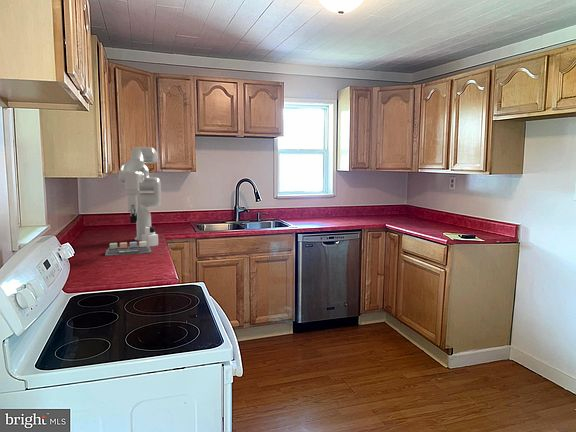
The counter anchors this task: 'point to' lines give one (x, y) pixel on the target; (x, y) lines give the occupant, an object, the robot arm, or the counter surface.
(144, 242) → the cream key
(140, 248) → the keypad board
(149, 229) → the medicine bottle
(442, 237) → the counter surface
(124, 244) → the terracotta key
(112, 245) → the sage key
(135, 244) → the slate key
